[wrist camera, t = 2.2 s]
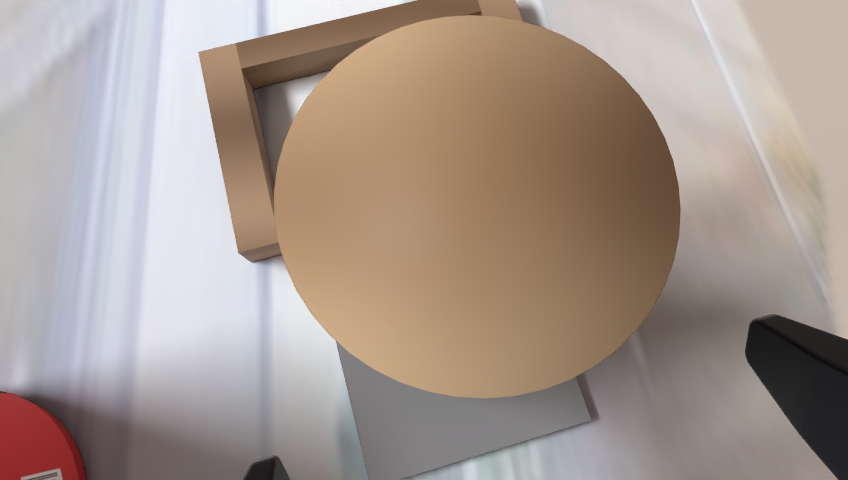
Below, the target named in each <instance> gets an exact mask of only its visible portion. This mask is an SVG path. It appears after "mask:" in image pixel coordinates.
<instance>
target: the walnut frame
mask: <svg viewBox="0 0 848 480" xmlns="http://www.w3.org/2000/svg"><path fill="white" fill-rule="evenodd" d="M466 15H474V16H494V17H500V18H507V19H513V20H519V21H522V22H523V19H522V16H521V14H520V11H519V9H518V6H517V4H516V1H515V0H417V1H413V2H409V3H404V4H400V5H396V6H392V7H387V8H383V9H379V10H375V11H370V12H366V13H362V14H358V15H353V16H349V17H345V18H341V19H336V20H332V21H328V22H324V23H319V24H315V25H311V26H307V27H302V28H298V29H294V30H290V31H286V32H281V33H277V34H273V35H269V36H264V37H260V38H256V39H252V40H247V41H243V42H239V43H235V44H230V45H226V46H222V47H218V48H213V49H209V50H205V51H201V52H199V58H200V63H201V68H202V73H203V78H204V83H205V88H206V93H207V98H208V103H209V108H210V113H211V118H212V123H213V128H214V133H215V138H216V143H217V148H218V153H219V158H220V163H221V168H222V173H223V178H224V183H225V188H226V193H227V198H228V203H229V208H230V213H231V218H232V223H233V228H234V233H235V238H236V243H237V248H238V253H239V254H241V255H242V256H243V257H245V258H246V259H247V260H249V261H250V262H254V261H258V260H262V259H265V258H269V257H273V256H276V255H280V254H282V253H281V249H280V246H279V242H278V237H277V231H276V224H275V217H274V187H275V186H274V182H273V177H272V173H271V168H270V164H269V159H268V155H267V151H266V146H265V142H264V137H263V133H262V128H261V124H260V119H259V115H258V111H257V106H256V102H255V97H254V93H253V89H254V88H258V87H263V86H267V85H271V84H275V83H279V82H283V81H287V80H291V79H295V78H300V77H304V76H308V75H312V74H316V73H320V72H324V71H328V70H332V69H333V68H334V67H335V66H336V65H337V64H338V63H339V62H341V61H342V60H343V59H345V58H346V57H347V56H349V55H350V54H351V53H353V52H354V51H355V50H357V49H358V48H360V47H362V46H363V45H365V44H367V43H369V42H370V41H372V40H374V39H375V38H377V37H379V36H382V35H384V34H386V33H389V32H391V31H393V30H396V29H398V28H401V27H404V26H407V25H411V24H414V23H417V22H421V21H425V20H431V19H436V18H442V17H451V16H466Z"/></svg>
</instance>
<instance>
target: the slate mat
mask: <svg viewBox="0 0 848 480" xmlns="http://www.w3.org/2000/svg"><path fill="white" fill-rule="evenodd" d="M336 343H337V348H338V352H339V356H340V360H341V364H342V369H343V373H344V377H345V381H346V385H347V390H348V394H349V398H350V402H351V406H352V411H353V415H354V419H355V423H356V427H357V432H358V436H359V440H360V444H361V448H362V453H363V457H364V461H365V465H366V469H367V474H368V478H369V480H400V479H403V478H407V477H410V476H413V475H416V474H420V473H423V472H426V471H429V470H433V469H436V468H439V467H442V466H446V465H449V464H452V463H455V462H458V461H462V460H465V459H468V458H471V457H475V456H478V455H481V454H484V453H488V452H491V451H494V450H497V449H501V448H504V447H507V446H510V445H513V444H517V443H520V442H523V441H526V440H530V439H533V438H536V437H539V436H543V435H546V434H549V433H552V432H556V431H559V430H562V429H565V428H568V427H572V426H575V425H578V424H581V423H585V422H588V421H591V418H590V415H589V412H588V409H587V406H586V403H585V401H584V398H583V395H582V392H581V389H580V386H579V383H578V381H577V378H576V377H574V378H572V379H570V380H568V381H565V382H563V383H560V384H557V385H555V386H552V387H549V388H547V389H544V390H540V391H535V392H531V393H527V394H522V395H518V396H510V397H498V398H486V399H485V398H467V397H454V396H449V395H444V394H438V393H433V392H428V391H425V390H422V389H419V388H416V387H413V386H410V385H407V384H404V383H401V382H399V381H397V380H395V379H392V378H390V377H388V376H386V375H384V374H382V373H380V372H378V371H376V370H374V369H373V368H371V367H370V366H368V365H367V364H365V363H364V362H362V361H361V360H359V359H358V358H356V357H355V356H353V355H352V354H351V353H349V352H348V351H347V350H346V349H345V348H344V347H343V346H341V345H340V344H339V343H338V342H337V341H336Z"/></svg>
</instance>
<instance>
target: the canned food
mask: <svg viewBox="0 0 848 480" xmlns="http://www.w3.org/2000/svg"><path fill="white" fill-rule="evenodd" d="M0 480H86V473H85V469H84V465H83V461H82V457H81V454H80V452H79V450H78V448H77V446H76V443H75V441H74V439H73V437H72V435H71V434H70V433H69V432H68V430H67V429H66V428H65V427H64V425H63V424H62V423H61V422H60V420H58V419H57V418H56V417H55V416H53V415H52V414H51V413H50V412H48V411H47V410H46V409H44V408H42V407H40V406H38V405H36V404H34V403H32V402H30V401H28V400H25V399H23V398H21V397H19V396H17V395H15V394H10V393H6V392H1V391H0Z"/></svg>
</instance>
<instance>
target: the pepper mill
mask: <svg viewBox="0 0 848 480" xmlns="http://www.w3.org/2000/svg"><path fill="white" fill-rule="evenodd" d="M274 217H275V224H276V231H277V237H278V242H279V246H280V249H281V253H282V256H283V259H284V263H285V266H286V268H287V270H288V273H289V275H290V277H291V279H292V282H293V284H294V286H295V288H296V290H297V292H298V293H299V295H300V297H301V298H302V300H303V301H304V303H305V304H306V306H307V308H308V309H309V311H310V312H311V314H312V315H313V316H314V317H315V318H316V320H317V321H318V322H319V323H320V324H321V326H322V327H323V328H324V329H325V330H326V331H327V333H328V334H329V335H330V336H331V337H333V338H334V339H335V340H336V341H337V342H338V343H339V344H340V345H341V346H343V347H344V348H345V349H346V350H347V351H348V352H349V353H351V354H352V355H353V356H355V357H356V358H358V359H359V360H361V361H362V362H364V363H365V364H367V365H368V366H370V367H371V368H373V369H374V370H376V371H378V372H380V373H382V374H384V375H386V376H388V377H390V378H392V379H395V380H397V381H399V382H401V383H404V384H407V385H410V386H413V387H416V388H419V389H422V390H425V391H428V392H433V393H438V394H444V395H449V396H454V397H467V398H485V399H486V398H498V397H510V396H518V395H522V394H527V393H531V392H535V391H540V390H544V389H547V388H549V387H552V386H555V385H557V384H560V383H563V382H565V381H568V380H570V379H572V378H574V377H576V376H578V375H580V374H581V373H583V372H585V371H587V370H589V369H590V368H592V367H594V366H596V365H597V364H598V363H600V362H601V361H602V360H604V359H605V358H606V357H608V356H609V355H610V354H612V353H613V352H614V351H616V350H617V349H618V348H619V347H620V346H621V345H622V344H623V343H624V342H625V341H626V340H627V339H628V338H629V337H630V336H631V335H632V334H633V333H634V332H635V331H636V330H637V329H638V327H639V326H640V325H641V323H642V322H643V321H644V319H645V318H646V316H647V315H648V314H649V312H650V311H651V310H652V308H653V307H654V305H655V303H656V301H657V299H658V297H659V295H660V293H661V292H662V290H663V288H664V286H665V284H666V281H667V278H668V275H669V273H670V270H671V267H672V264H673V261H674V257H675V252H676V247H677V242H678V238H679V226H680V198H679V186H678V181H677V176H676V172H675V167H674V163H673V159H672V156H671V154H670V151H669V148H668V146H667V143H666V140H665V137H664V135H663V134H662V132H661V130H660V128H659V126H658V124H657V122H656V120H655V118H654V116H653V115H652V113H651V112H650V110H649V109H648V107H647V106H646V105H645V103H644V102H643V100H642V99H641V97H640V96H639V95H638V93H637V92H636V91H635V90H634V89H633V88H632V87H631V86H630V85H629V83H628V82H627V81H626V80H625V79H624V78H623V77H622V76H621V75H620V74H619V73H618V72H617V71H615V70H614V69H613V68H612V67H611V66H610V65H609V64H607V63H606V62H605V61H604V60H603V59H601V58H600V57H598V56H597V55H595V54H594V53H592V52H591V51H590V50H588V49H587V48H585V47H584V46H582V45H580V44H578V43H576V42H574V41H572V40H570V39H569V38H567V37H565V36H563V35H561V34H558V33H556V32H553V31H550V30H548V29H545V28H543V27H540V26H537V25H533V24H529V23H526V22H522V21H519V20H513V19H507V18H500V17H494V16H474V15H466V16H451V17H442V18H436V19H431V20H425V21H421V22H417V23H414V24H411V25H407V26H404V27H401V28H398V29H396V30H393V31H391V32H389V33H386V34H384V35H382V36H379V37H377V38H375V39H374V40H372V41H370V42H369V43H367V44H365V45H363V46H362V47H360V48H358V49H357V50H355V51H354V52H353V53H351V54H350V55H349V56H347V57H346V58H345V59H343V60H342V61H341V62H339V63H338V64H337V65H336V66H335V67H334V68H333V69H332V70H331V71H330V72H329V73H328V74H327V75H326V76H325V77H324V78H323V79H322V80H321V81H320V82H319V83H318V84H317V86H316V87H315V88H314V90H313V91H312V92H311V93H310V95H309V96H308V97H307V98H306V100H305V101H304V103H303V105H302V106H301V108H300V110H299V111H298V113H297V115H296V116H295V118H294V120H293V122H292V124H291V127H290V129H289V131H288V134H287V136H286V138H285V141H284V144H283V147H282V151H281V154H280V158H279V162H278V165H277V172H276V180H275V187H274Z"/></svg>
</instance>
